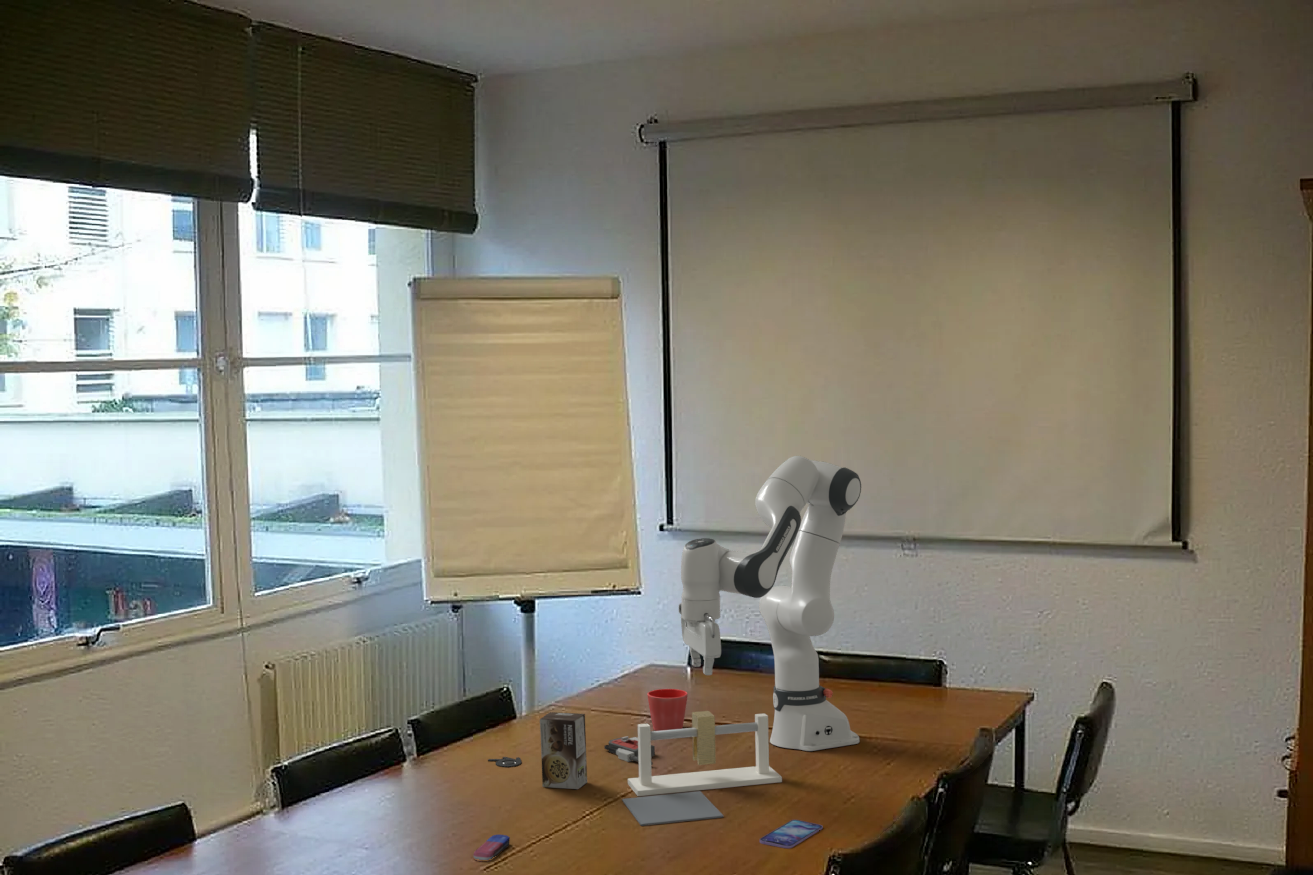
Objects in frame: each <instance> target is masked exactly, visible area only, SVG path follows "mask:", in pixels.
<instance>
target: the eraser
mask: <svg viewBox="0 0 1313 875" xmlns="http://www.w3.org/2000/svg"><path fill="white" fill-rule="evenodd" d="M510 840H511V837H510V836H508V835H506V834H493V835H492V836H490V837H489V838H488V839H487V840H486V841H484V843H483V844H481V845H480V846H479V847H478V848H477V849H476V850H474V852H473V859H474V858H475V859H479V860H489V859H492V858H493V857H495V856H497V855H498V854H499V853H500V852H501V851H502V852H503V851H505V849H506V848H508V847H509V846H510ZM502 852H501V853H502ZM501 853H500V854H501ZM500 854H499V855H500ZM499 855H498V856H499ZM498 856H497V857H498ZM495 858H496V857H495ZM475 859H474V860H475Z"/></svg>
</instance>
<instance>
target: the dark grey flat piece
mask: <svg viewBox="0 0 1313 875" xmlns="http://www.w3.org/2000/svg"><path fill="white" fill-rule="evenodd" d="M487 762H495V766H497V767H499V768H515V767H518V766H521V765H522V759H521V757H519V756H518V757H515V758H513V757H508V756H502V758H488V759H487Z"/></svg>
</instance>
